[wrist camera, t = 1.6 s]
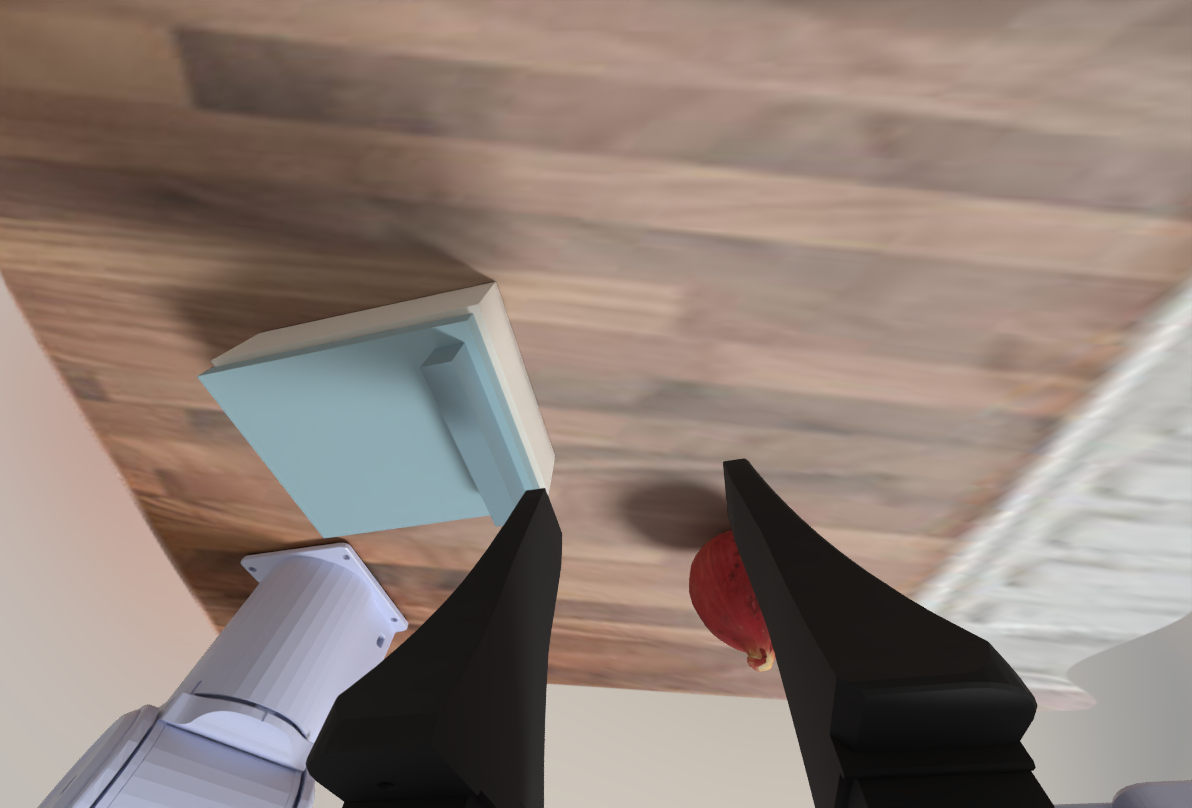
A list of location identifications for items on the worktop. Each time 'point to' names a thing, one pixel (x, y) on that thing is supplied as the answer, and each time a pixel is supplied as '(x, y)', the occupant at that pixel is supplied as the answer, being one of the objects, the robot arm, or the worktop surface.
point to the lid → (382, 427)
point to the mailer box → (422, 310)
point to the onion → (729, 601)
